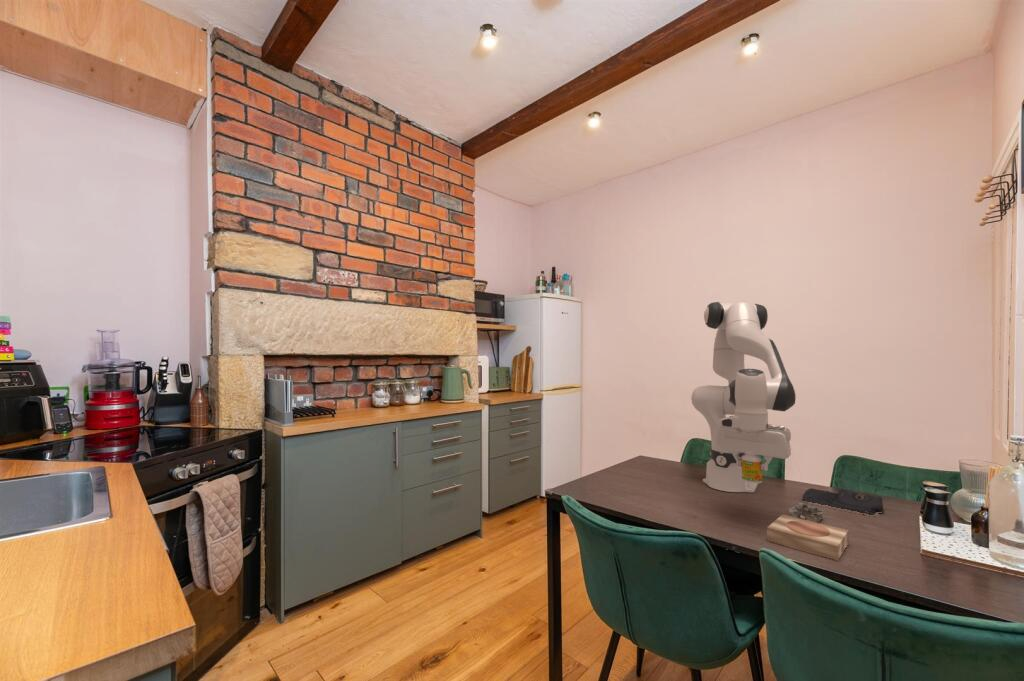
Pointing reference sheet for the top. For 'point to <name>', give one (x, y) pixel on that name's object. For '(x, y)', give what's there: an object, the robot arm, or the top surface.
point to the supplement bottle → (751, 467)
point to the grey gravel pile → (806, 512)
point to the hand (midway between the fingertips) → (751, 468)
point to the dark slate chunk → (845, 500)
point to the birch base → (808, 536)
